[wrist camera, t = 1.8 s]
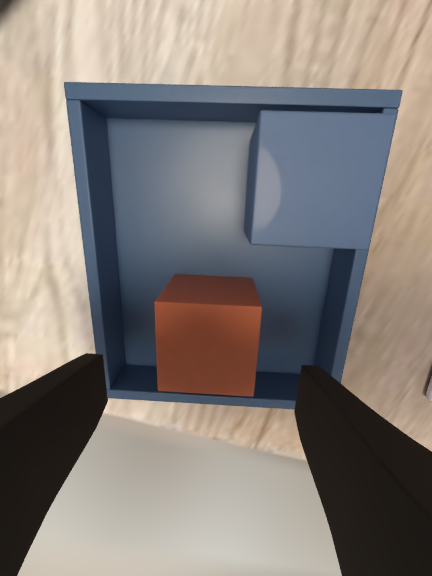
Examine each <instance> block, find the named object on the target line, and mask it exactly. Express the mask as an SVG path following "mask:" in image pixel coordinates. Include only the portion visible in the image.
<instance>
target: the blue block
mask: <svg viewBox="0 0 432 576" xmlns="http://www.w3.org/2000/svg"><path fill="white" fill-rule="evenodd" d="M396 117H397V115H396V114H383V113H345V112H308V111H270V110H262V111H260V113H259V116H258V119H257V122H256V125H255V128H254V130H253V133H252V136H251V139H250V144H249V159H248V174H247V189H246V204H245V219H244V233H245V235H246V237H247V239H248V240H249V242H250V244H251V245H263V246H287V247H311V248H335V249H359V250H367V249H368V248H369V245H370V240H371V235H372V230H373V226H374V221H375V216H376V212H377V207H378V202H379V197H380V193H381V188H382V183H383V179H384V174H385V169H386V164H387V160H388V155H389V150H390V145H391V141H392V136H393V131H394V127H395V122H396Z"/></svg>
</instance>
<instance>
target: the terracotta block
mask: <svg viewBox="0 0 432 576" xmlns="http://www.w3.org/2000/svg"><path fill="white" fill-rule="evenodd" d="M154 305H155V331H156V358H157V384H158V391H167V392H184V393H201V394H218V395H235V396H252V397H253V396H254V388H255V378H256V367H257V357H258V346H259V336H260V325H261V315H262V306H261V303H260V299H259V296H258V293H257V290H256V287H255V284H254V281H253V278H247V277H225V276H203V275H181V274H175V275H174V276H173V278H172V279H171V280H170V282H169V283H168V284H167V286H166V287H165V288H164V290H163V291H162V292H161V294H160V295H159V296H158V298H157V299H156V301H155V302H154Z"/></svg>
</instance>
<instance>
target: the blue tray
mask: <svg viewBox="0 0 432 576" xmlns="http://www.w3.org/2000/svg"><path fill="white" fill-rule="evenodd" d="M64 88H65V96H66V99H67V100H66V103H67V112H68V120H69V129H70V137H71V146H72V154H73V163H74V171H75V180H76V188H77V197H78V205H79V214H80V222H81V231H82V239H83V248H84V256H85V265H86V273H87V282H88V290H89V299H90V307H91V316H92V324H93V333H94V341H95V350H96V354H103V360H104V370H105V379H106V388H107V397H108V398H116V399H132V400H149V401H165V402H182V403H199V404H215V405H232V406H248V407H265V408H281V409H295V404H296V398H297V391H298V385H299V378H300V372H301V365H312V366H320V367H321V368H322V369H324V370H325V371H326V372H327V373H329V374H330V375H331V376H332V377H333V378H335V379H336V380H337V381H338V382H339V383H341V378H342V373H343V368H344V364H345V359H346V354H347V350H348V345H349V340H350V335H351V331H352V326H353V321H354V317H355V312H356V307H357V302H358V298H359V293H360V288H361V284H362V279H363V274H364V269H365V265H366V260H367V255H368V251H369V248H368V249H367V250H359V249H335V248H311V247H287V246H263V245H251V244H250V242H249V240H248V239H247V237H246V235H245V233H244V219H245V204H246V189H247V174H248V159H249V144H250V139H251V136H252V133H253V130H254V128H255V125H256V122H257V119H258V116H259V113H260V111H262V110H270V111H308V112H345V113H383V114H396V115H397V114H398V109H397V108H399V106H400V101H401V96H402V90H376V89H334V88H293V87H251V86H209V85H167V84H126V83H84V82H64ZM396 119H397V117H396ZM395 123H396V122H395ZM394 128H395V127H394ZM393 133H394V131H393ZM392 137H393V136H392ZM391 142H392V141H391ZM390 147H391V145H390ZM389 152H390V150H389ZM388 156H389V155H388ZM387 161H388V160H387ZM386 166H387V164H386ZM385 170H386V169H385ZM384 175H385V174H384ZM383 180H384V179H383ZM382 185H383V183H382ZM381 189H382V188H381ZM380 194H381V193H380ZM379 199H380V197H379ZM378 203H379V202H378ZM377 208H378V207H377ZM376 213H377V212H376ZM375 218H376V216H375ZM374 222H375V221H374ZM373 227H374V226H373ZM372 232H373V230H372ZM371 236H372V235H371ZM370 241H371V240H370ZM369 246H370V245H369ZM175 274H181V275H203V276H225V277H247V278H253V281H254V284H255V287H256V290H257V293H258V296H259V299H260V303H261V306H262V315H261V325H260V336H259V346H258V357H257V367H256V378H255V388H254V396H253V397H252V396H235V395H218V394H201V393H184V392H167V391H158V384H157V358H156V331H155V305H154V302H155V301H156V299H157V298H158V296H159V295H160V294H161V292H162V291H163V290H164V288H165V287H166V286H167V284H168V283H169V282H170V280H171V279H172V278H173V276H174V275H175Z"/></svg>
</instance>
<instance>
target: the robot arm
mask: <svg viewBox="0 0 432 576" xmlns="http://www.w3.org/2000/svg"><path fill="white" fill-rule="evenodd" d="M426 397H427V398H428V399H429V400H430V401H431V402H432V377H431V380H430V383H429V386H428V389H427V392H426ZM107 401H108V397H107V388H106V379H105V370H104V360H103V354H88V353H86V354H84V355H82V356H80V357H78V358H76V359H74V360H72V361H70V362H68V363H66V364H64V365H62V366H61V367H59V368H57V369H55V370H53V371H51V372H50V373H48V374H46V375H44V376H42V377H40V378H39V379H37V380H35V381H33V382H31V383H29V384H27V385H25V386H23V387H21V388H20V389H18V390H16V391H14V392H12V393H10V394H8V395H6V396H4V397H2V398H0V576H17V574H18V572H19V570H20V568H21V566H22V563H23V562H24V559H25V557H26V555H27V553H28V551H29V549H30V546H31V545H32V543H33V540H34V538H35V536H36V534H37V532H38V530H39V528H40V526H41V524H42V522H43V520H44V518H45V516H46V514H47V512H48V510H49V508H50V506H51V504H52V503H53V501H54V499H55V497H56V495H57V494H58V492H59V490H60V489H61V487H62V485H63V483H64V481H65V480H66V478H67V477H68V475H69V473H70V471H71V470H72V468H73V467H74V465H75V463H76V461H77V460H78V458H79V456H80V455H81V453H82V451H83V450H84V448H85V446H86V444H87V443H88V441H89V439H90V438H91V436H92V434H93V432H94V431H95V429H96V427H97V425H98V422H99V420H100V418H101V416H102V414H103V411H104V409H105V406H106V404H107ZM294 412H295V417H296V422H297V427H298V431H299V436H300V440H301V443H302V446H303V449H304V452H305V455H306V458H307V461H308V464H309V467H310V470H311V473H312V476H313V479H314V482H315V485H316V488H317V490H318V493H319V496H320V499H321V502H322V505H323V508H324V511H325V514H326V517H327V521H328V524H329V527H330V530H331V534H332V537H333V542H334V546H335V549H336V554H337V557H338V562H339V565H340V569H341V573H342V576H432V452H431V451H430V450H428V449H427V448H425V447H424V446H422V445H421V444H419V443H418V442H416V441H415V440H413V439H412V438H410V437H409V436H407V435H406V434H404V433H403V432H402V431H400V430H399V429H398V428H396V427H395V426H393V425H392V424H391V423H389V422H388V421H387V420H385V419H384V418H383V417H381V416H380V415H379V414H377V413H376V412H375V411H374V410H372V409H371V408H370V407H368V406H367V405H366V404H365V403H363V402H362V401H361V400H360V399H359V398H357V397H356V396H355V395H354V394H352V393H351V392H350V391H349V390H348V389H346V388H345V387H344V386H343V385H342V384H341V383H339V382H338V381H337V380H336V379H335V378H333V377H332V376H331V375H330V374H329V373H327V372H326V371H325V370H324V369H322V368H321V367H320V366H312V365H301V372H300V378H299V385H298V391H297V398H296V404H295V411H294Z"/></svg>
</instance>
